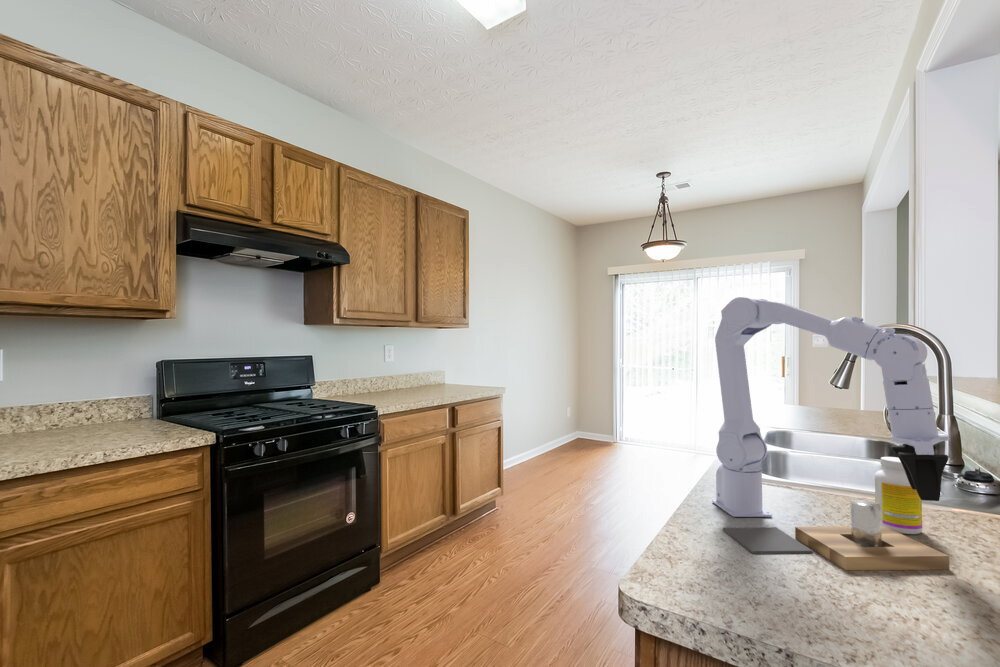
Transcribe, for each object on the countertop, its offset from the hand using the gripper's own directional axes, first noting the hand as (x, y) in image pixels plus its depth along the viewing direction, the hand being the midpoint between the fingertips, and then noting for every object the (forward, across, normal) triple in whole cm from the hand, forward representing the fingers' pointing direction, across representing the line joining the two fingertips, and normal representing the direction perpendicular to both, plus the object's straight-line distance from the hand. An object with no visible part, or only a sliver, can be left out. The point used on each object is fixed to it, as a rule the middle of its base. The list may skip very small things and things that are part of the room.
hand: (924, 494), depth 75 cm
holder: (+10, -1, +9) cm, 13 cm away
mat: (+8, -5, +23) cm, 25 cm away
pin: (+10, -1, +9) cm, 13 cm away
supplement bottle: (+10, +15, +3) cm, 18 cm away
